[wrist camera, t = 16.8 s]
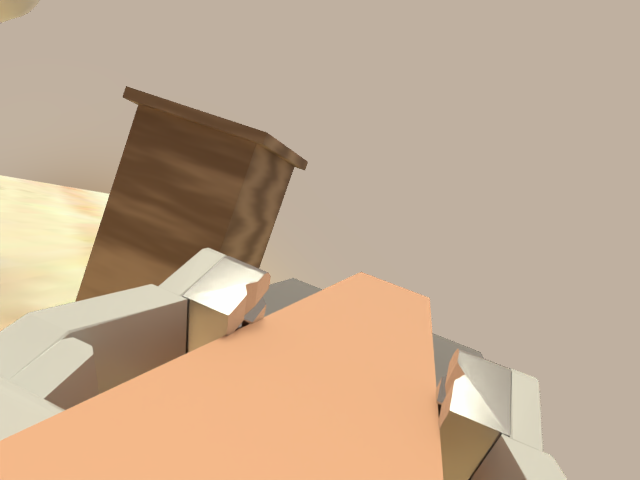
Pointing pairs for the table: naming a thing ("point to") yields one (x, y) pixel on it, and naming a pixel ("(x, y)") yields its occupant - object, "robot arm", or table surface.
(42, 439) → the terracotta block
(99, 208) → the table surface
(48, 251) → the table surface
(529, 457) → the robot arm
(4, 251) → the table surface
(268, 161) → the walnut stand
